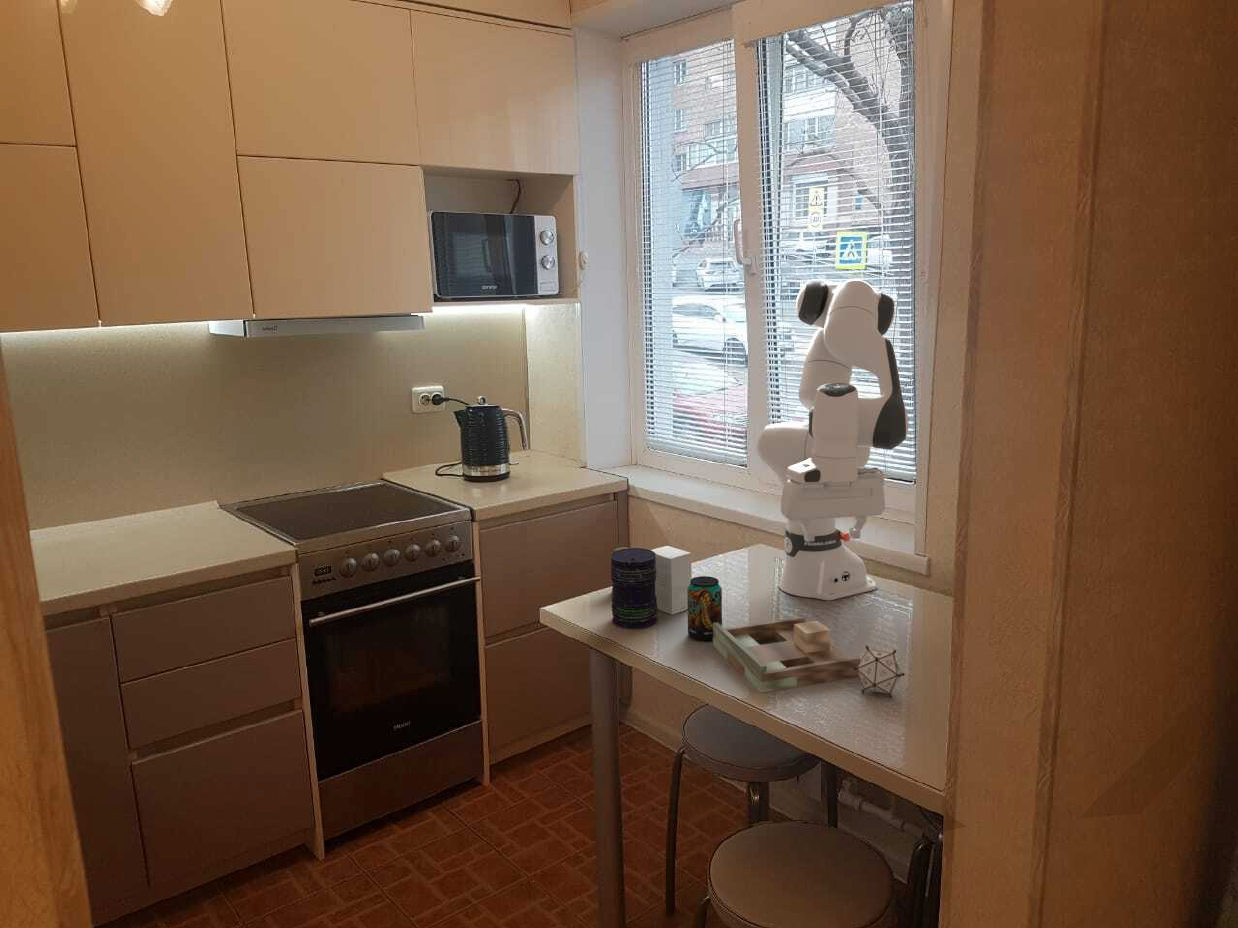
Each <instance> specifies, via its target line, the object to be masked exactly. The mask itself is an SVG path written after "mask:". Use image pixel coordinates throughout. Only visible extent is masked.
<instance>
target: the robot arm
mask: <svg viewBox="0 0 1238 928" xmlns="http://www.w3.org/2000/svg"><path fill="white" fill-rule="evenodd" d="M795 304H796V315H797V317H798V319H799V320H800V321H801V322H802V323H805V324H806V325H809V326H813V325H814V326H816V327H818V329H817V330H816V331H815V333H814V334H813V335H812V336H813V337H812V338H811V341H810V343H809V345H808V348H807V349H808V350H807V352H806V356H805V359H804V364H803V369H802V373H801V379H800V384H799V388H798V389H799V390H798V398H799V402H800V403H801V405H802V406H803V407H804V408H805V409H807V410H808V412H809V414H808V423H805V422H804V423H802V422H801V423H800V422H787V421H786V422H778V423H773V424H767V425H766V426H765V427H764V428H763V429H762V430H761V432H760V433H759V435H758V437H757V442H756V449H757V453H758V454H757V455H758V457H759V459H760V461H761V462H762V463H763V464H764V465H766V466H767V467H768V469H770V470H771V471H772V472H773V474H774V476H776V478H777V479H778V481H779V482H780V485H781V487H782V492H781V501H780V512H781V515H782V516H783V518H784V519H786V527H785V529H784V553H785V555H784V562H783V563H784V564H783V570H782V573H781V578H780V580H779V584H778V587H779V589H780V590H781V591H783V592H784V593H787V594H790V595H794V596H797V597H803V598H814V599H818V600H824V601H834V600H837V599H841V598H846V597H849V596H854V595H857V594H858V595H859V594H862V593H866V592H871V591H875V590H877V583H876V581H875V580H874V579H873V578H872V577H870V576H868V575H867V570H866V565H865V562H864V561H863V559H862V558H861V557H860V556H859V555H857V554H856V553H854V552H853V551H852V550H851V549H849V548H848V547H846V546H845V545H844V544H843V543H842V541H843V542H846V543H847V542H849V541H850V540H851V539H852V540H856V539H861V531H862V529H863V528H864V526H865V524H866V523H867V519H868V518H867V517H870V516H872V517H873V516H881V515H882V514H883V513H884V511H885V507H886V504H885V502H886V501H885V492H884V486H885V473H884V472H883V470H881V469H879V468H878V467H875V466H873V467H871V466H870V467H866V465H867V463H868V461H869V459H870V456H871V448H874V449H880V450H886V451H887V450H890V451H892V450H893V449H895V448H896V447H898V446H899V445H900V444H902V443H903V442H904V441H905V440H906V438H907V435H908V433H909V427H910V426H909V421H910V420H909V415H908V411H907V409H906V408H907V407H906V406H905V403H904V396H903V393H902V388H901V381H900V374H899V370H898V364H897V363H898V362H897V358H896V354H895V350H894V346H893V343H892V342H891V340H889V339H888V338H886V337H884V335H885V334H887V332H888V330H889V329H890V327H891V326H892V324H893V323H894V319H895V310H896V309H895V301H894V300H893V297H891V295H889V294H887V293H885V292H882V291H880V290H879V291H876V290H874V288H873V287H872V286H871V284H869V283H868V282H866V281H864V280H861V279H849V280H846V281H843V282H839V281H838V282H836V281H826V280H824V279H822V278H819V279H818V278H816V279H814V278H813V279H809V280H808V281H806V282H805V283H804V285H803V286H802V288H801V289H800V290H799V291H798V295H797V296H796V303H795ZM853 367H855V368H859V369H862V370H863V371H864V370H865V371H867V372H869V373H870V374H873V376H874V375H875V377H877V380H878V385H879V393H880V396H878V397H859V393H858V389H857V387H856V386H854V385H852V384H850V383H851V378H852V372H853V371H852V370H853ZM838 518H840V519H841V518H854V519H855V520H856V521H855V524H854V526H853V527H850V528H849V532H846V531H841V530H839V529H837V528H836V519H838Z"/></svg>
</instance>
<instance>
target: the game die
mask: <svg viewBox="0 0 1238 928" xmlns="http://www.w3.org/2000/svg"><path fill="white" fill-rule="evenodd" d="M865 650H866V651H865V653H864V655H863V657H862V658H861V659H860V663H859V665H858V667H857V668H856V667H853V668H852V669H853V670H857V672H858V675H859V676H858V678H859V680H860V683H861V685H862V688H863V689H861V691H860V693H861V694H863V693H865V692H866V691H869V692H873V693H874V692H875V693H882V694H887V695H888V697H889V698H890V699H893V695H892V692H893V689H894V688H895V687H896V685H897V683H898V680H899V679H900V678H901V677H904V676H906V673H904V672H902V671H901V670H900V668H899V667H900V666H899V665H898V662H897V659H896V655H895V654H896V653H897V649H893V650H892V652H888V651H881V650H873V649H870V648H869V646H868V645H867V644H866V645H865Z"/></svg>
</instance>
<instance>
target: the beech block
mask: <svg viewBox="0 0 1238 928" xmlns="http://www.w3.org/2000/svg"><path fill="white" fill-rule="evenodd" d="M830 635H831V629H829V628H828V627H827V626H825V625H824V624H822V623H821V622H820V621H818V620H813V621H805V623H798V624H794V644H795V645H797V646H798V647H799V648H800V649H802V650H803V651H804V652H805V653H810V652H817V651H823V650H829V649H830V644H831V642H830V640H831V636H830Z"/></svg>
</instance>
